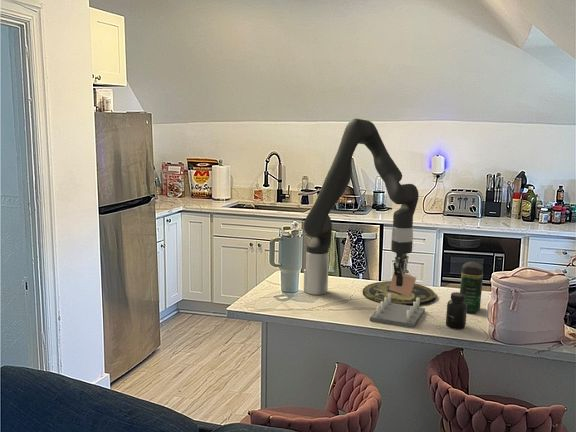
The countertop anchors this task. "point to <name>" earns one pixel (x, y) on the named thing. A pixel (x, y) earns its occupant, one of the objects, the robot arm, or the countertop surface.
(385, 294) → the decorative plate
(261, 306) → the countertop surface
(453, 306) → the supplement bottle
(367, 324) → the countertop surface
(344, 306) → the countertop surface
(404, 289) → the tile
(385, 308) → the dish rack
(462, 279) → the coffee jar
